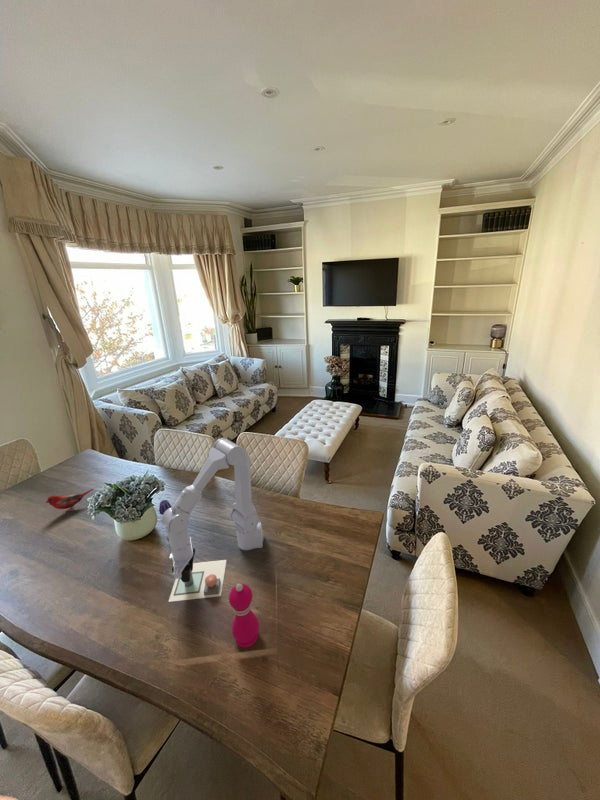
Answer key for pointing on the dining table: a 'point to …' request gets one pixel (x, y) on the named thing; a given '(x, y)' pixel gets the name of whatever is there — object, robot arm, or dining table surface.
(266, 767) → the dining table surface
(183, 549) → the robot arm
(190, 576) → the salt shaker
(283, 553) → the dining table surface
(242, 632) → the pepper mill
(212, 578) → the button
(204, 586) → the board
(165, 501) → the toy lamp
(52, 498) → the decorative bird figurine
